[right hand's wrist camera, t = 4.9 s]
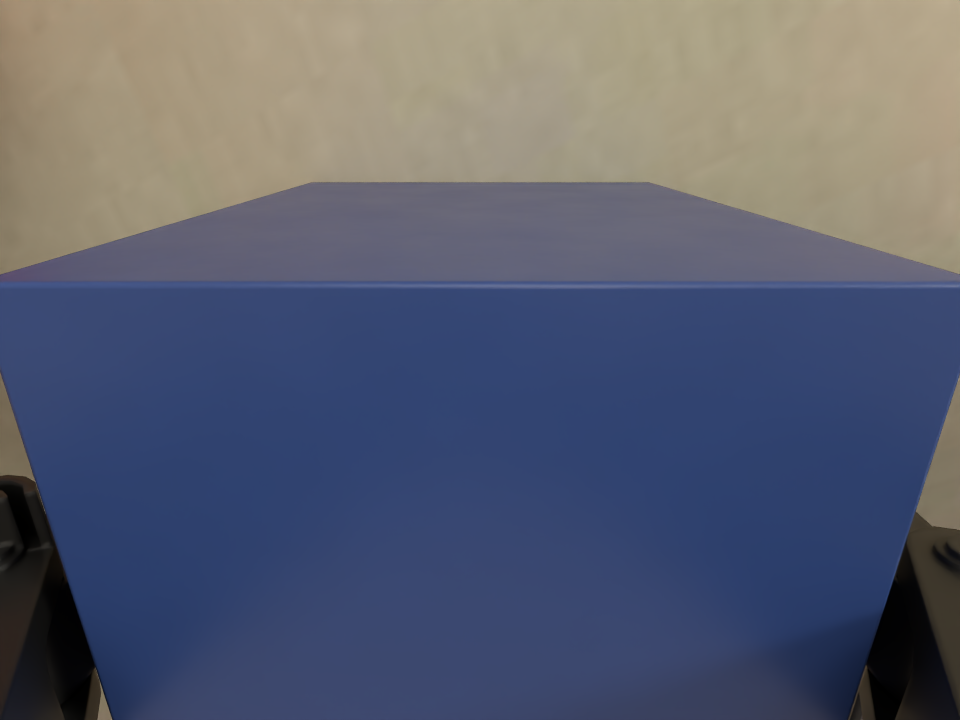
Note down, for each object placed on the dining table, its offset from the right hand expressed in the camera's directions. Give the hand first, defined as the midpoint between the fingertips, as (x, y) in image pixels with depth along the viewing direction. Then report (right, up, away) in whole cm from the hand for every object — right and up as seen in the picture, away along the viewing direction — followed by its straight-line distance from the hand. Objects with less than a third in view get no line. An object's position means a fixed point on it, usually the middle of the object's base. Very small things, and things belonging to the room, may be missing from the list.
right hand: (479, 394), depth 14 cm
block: (0, +1, +3) cm, 3 cm away
